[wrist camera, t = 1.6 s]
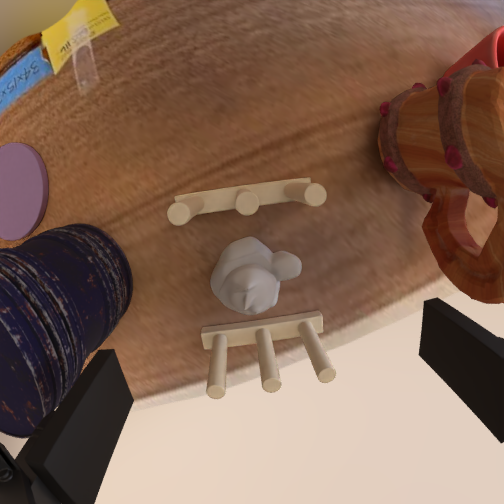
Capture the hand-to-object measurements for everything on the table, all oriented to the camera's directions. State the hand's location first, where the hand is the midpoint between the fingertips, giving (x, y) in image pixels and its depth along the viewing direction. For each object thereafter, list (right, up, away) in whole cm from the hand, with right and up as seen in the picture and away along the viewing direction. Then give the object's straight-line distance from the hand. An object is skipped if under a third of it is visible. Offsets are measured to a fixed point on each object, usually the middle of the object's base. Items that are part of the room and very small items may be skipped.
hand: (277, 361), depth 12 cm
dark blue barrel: (-16, +2, +13) cm, 20 cm away
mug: (+12, +11, +12) cm, 20 cm away
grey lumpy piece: (-1, +3, +13) cm, 14 cm away
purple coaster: (-23, +10, +10) cm, 27 cm away
